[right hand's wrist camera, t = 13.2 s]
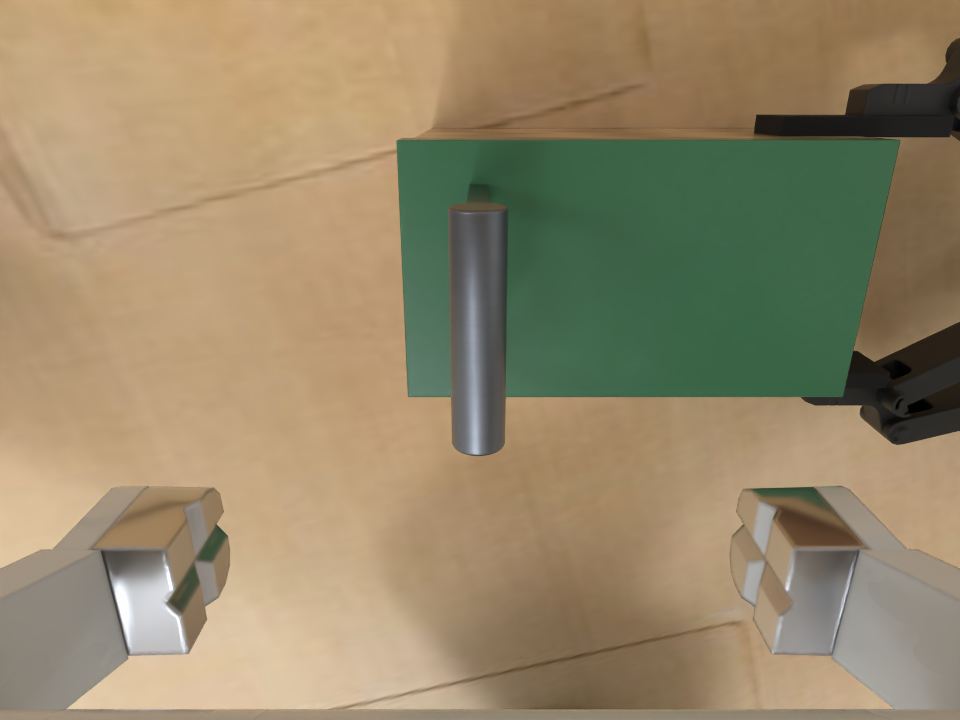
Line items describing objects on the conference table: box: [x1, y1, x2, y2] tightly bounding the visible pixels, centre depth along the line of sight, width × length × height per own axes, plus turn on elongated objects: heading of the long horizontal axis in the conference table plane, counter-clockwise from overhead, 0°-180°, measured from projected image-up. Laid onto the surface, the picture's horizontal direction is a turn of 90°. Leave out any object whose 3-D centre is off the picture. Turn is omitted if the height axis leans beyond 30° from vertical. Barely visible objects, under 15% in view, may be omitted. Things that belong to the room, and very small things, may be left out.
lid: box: [397, 138, 900, 456], centre depth 22 cm, size 18×10×8 cm, turn 90°
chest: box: [416, 128, 872, 138], centre depth 30 cm, size 17×10×10 cm, turn 90°
